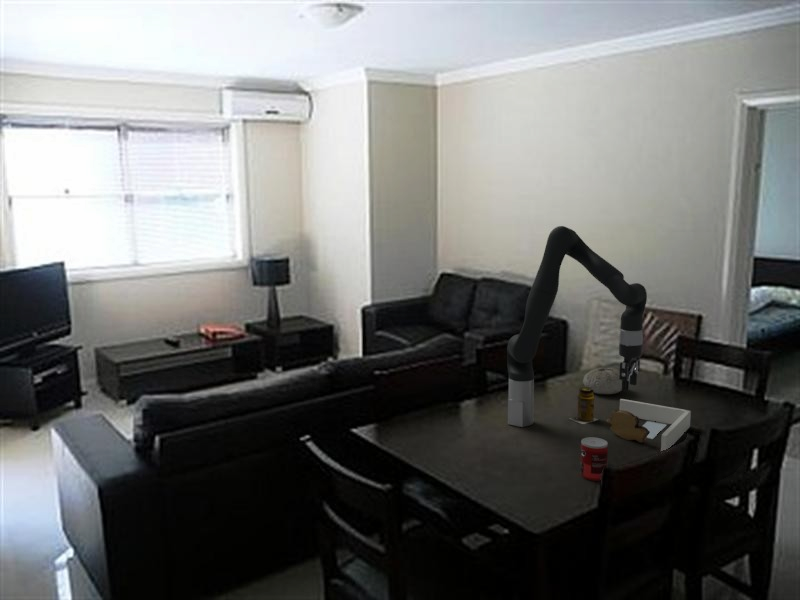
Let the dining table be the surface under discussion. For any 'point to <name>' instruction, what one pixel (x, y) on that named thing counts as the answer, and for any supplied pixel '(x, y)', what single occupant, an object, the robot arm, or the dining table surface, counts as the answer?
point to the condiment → (585, 406)
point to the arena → (661, 418)
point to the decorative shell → (603, 380)
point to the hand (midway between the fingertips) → (629, 387)
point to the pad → (653, 428)
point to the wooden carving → (627, 426)
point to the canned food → (593, 457)
